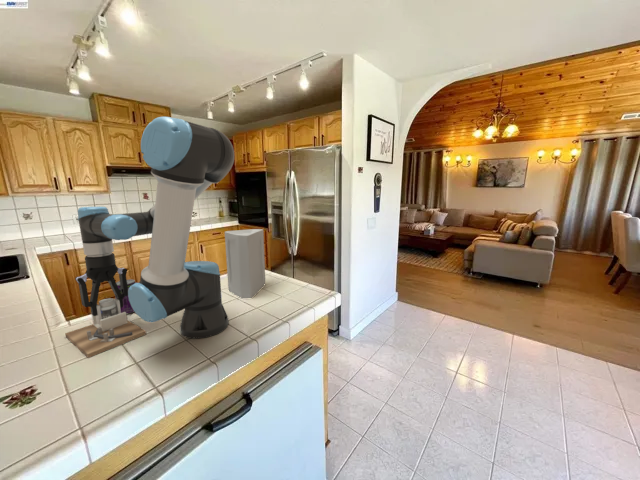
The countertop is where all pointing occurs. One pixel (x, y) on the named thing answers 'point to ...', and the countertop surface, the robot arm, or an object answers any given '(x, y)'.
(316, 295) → the countertop surface
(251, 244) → the grey triangular prism
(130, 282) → the beverage can
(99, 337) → the cable
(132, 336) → the board
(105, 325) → the end holder
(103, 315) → the pill bottle
